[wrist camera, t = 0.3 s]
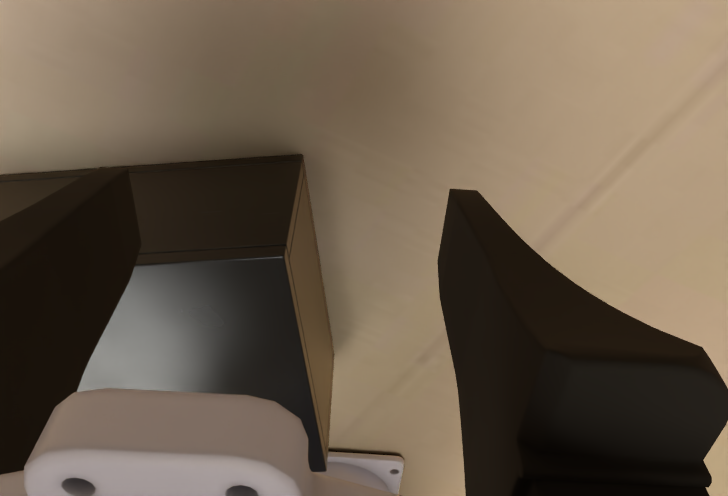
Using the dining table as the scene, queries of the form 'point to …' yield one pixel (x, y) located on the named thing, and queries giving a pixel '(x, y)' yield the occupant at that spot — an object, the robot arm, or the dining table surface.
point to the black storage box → (216, 287)
